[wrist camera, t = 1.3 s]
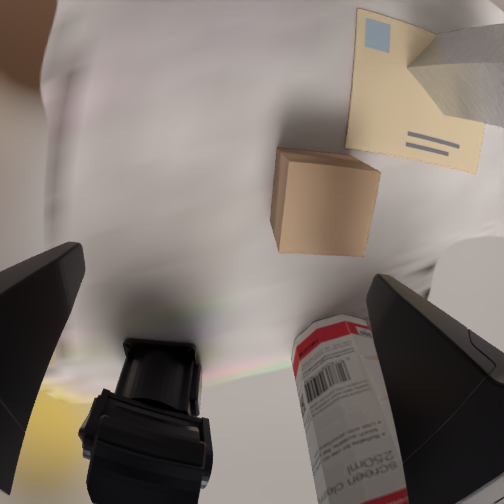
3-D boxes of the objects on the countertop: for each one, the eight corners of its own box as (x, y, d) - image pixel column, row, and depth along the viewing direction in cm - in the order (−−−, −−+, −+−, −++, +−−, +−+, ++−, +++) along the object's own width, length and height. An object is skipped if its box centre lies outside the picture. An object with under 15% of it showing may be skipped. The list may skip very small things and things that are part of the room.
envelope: (344, 147, 20) (346, 148, 19) (356, 9, 15) (358, 8, 15) (474, 173, 20) (476, 174, 20) (487, 60, 16) (489, 60, 16)
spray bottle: (277, 367, 28) (314, 639, 6) (314, 306, 25) (405, 638, 3) (346, 379, 30) (411, 606, 7) (387, 325, 27) (498, 578, 4)
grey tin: (443, 117, 18) (574, 153, 8) (404, 67, 17) (540, 64, 6) (473, 80, 17) (598, 99, 6) (438, 32, 15) (566, 18, 5)
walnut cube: (269, 219, 22) (278, 252, 17) (276, 147, 20) (289, 161, 15) (339, 224, 22) (363, 256, 18) (350, 155, 20) (381, 172, 15)
